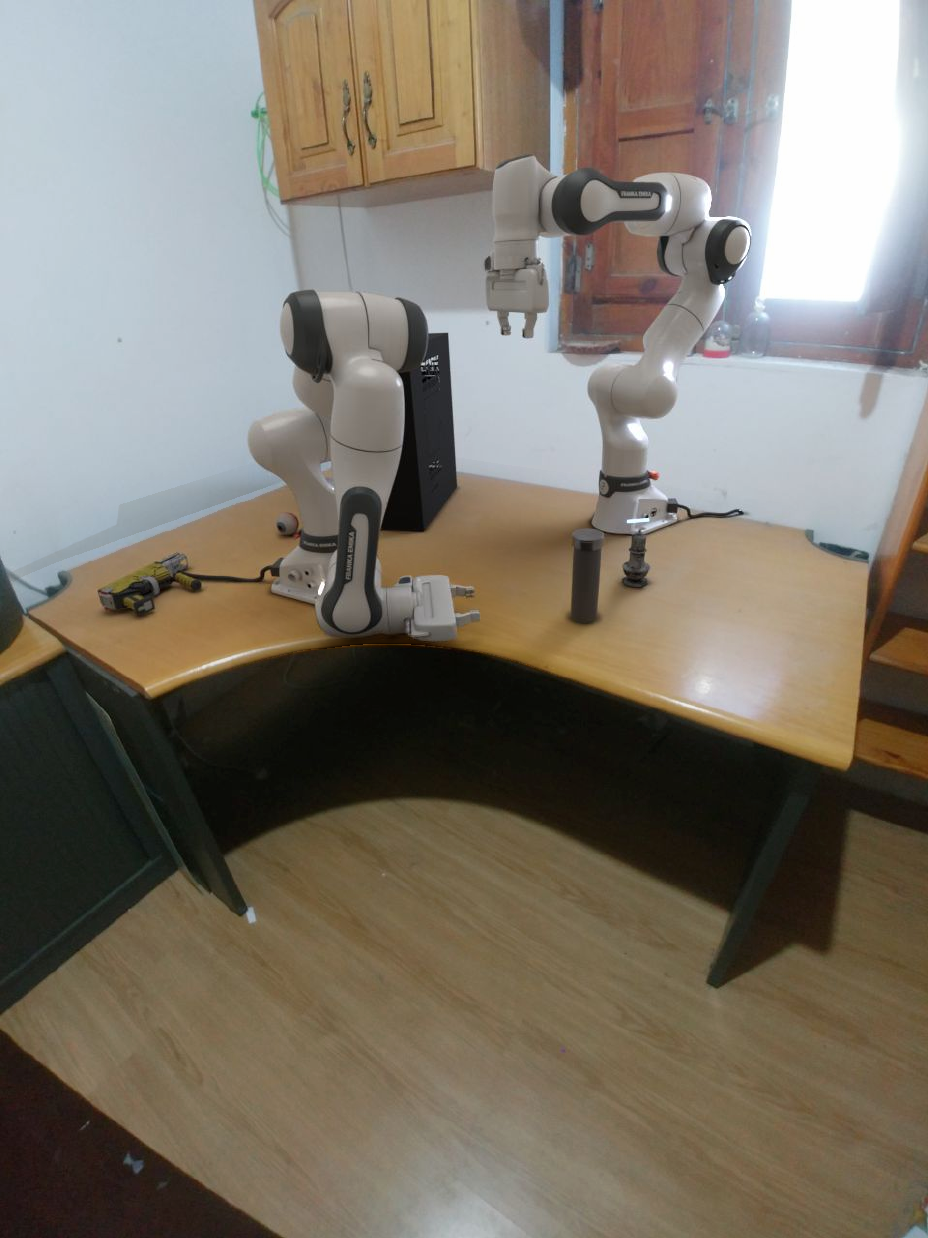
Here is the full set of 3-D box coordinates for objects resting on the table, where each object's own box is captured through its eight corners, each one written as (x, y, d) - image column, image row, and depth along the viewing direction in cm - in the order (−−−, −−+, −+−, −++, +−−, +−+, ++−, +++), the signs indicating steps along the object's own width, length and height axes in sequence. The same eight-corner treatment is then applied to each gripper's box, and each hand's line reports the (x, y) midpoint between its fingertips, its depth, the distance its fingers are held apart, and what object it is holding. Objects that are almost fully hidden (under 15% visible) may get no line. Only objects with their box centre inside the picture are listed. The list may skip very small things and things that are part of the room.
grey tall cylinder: (602, 618, 118) (608, 537, 109) (582, 626, 116) (586, 544, 107) (585, 607, 122) (589, 529, 113) (565, 615, 119) (568, 535, 111)
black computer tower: (424, 530, 162) (407, 348, 139) (353, 528, 166) (326, 351, 144) (457, 486, 193) (448, 332, 171) (397, 485, 198) (380, 334, 175)
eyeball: (273, 537, 164) (268, 516, 161) (287, 528, 169) (282, 508, 166) (291, 539, 161) (286, 518, 158) (305, 530, 166) (301, 510, 163)
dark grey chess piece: (649, 588, 127) (655, 535, 121) (620, 586, 128) (625, 534, 122) (647, 575, 132) (653, 524, 126) (620, 574, 133) (624, 523, 127)
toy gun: (225, 560, 144) (174, 549, 148) (148, 603, 124) (91, 589, 127) (228, 578, 146) (177, 567, 150) (152, 623, 126) (96, 609, 130)
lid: (610, 546, 110) (610, 535, 109) (585, 553, 108) (586, 542, 107) (589, 536, 114) (590, 526, 113) (565, 543, 112) (566, 533, 111)
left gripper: (403, 622, 103) (482, 615, 104) (402, 571, 121) (470, 565, 122) (406, 653, 107) (484, 646, 107) (405, 599, 124) (472, 593, 125)
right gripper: (558, 255, 111) (556, 338, 118) (506, 260, 127) (507, 332, 134) (528, 257, 109) (528, 341, 116) (479, 261, 125) (481, 334, 132)
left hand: (477, 603), depth 115 cm, fingers open, 8 cm apart
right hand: (516, 336), depth 125 cm, fingers open, 8 cm apart
